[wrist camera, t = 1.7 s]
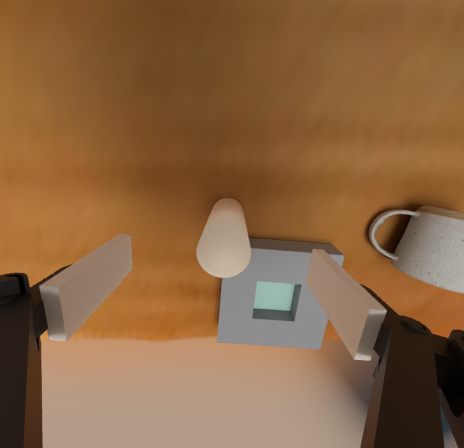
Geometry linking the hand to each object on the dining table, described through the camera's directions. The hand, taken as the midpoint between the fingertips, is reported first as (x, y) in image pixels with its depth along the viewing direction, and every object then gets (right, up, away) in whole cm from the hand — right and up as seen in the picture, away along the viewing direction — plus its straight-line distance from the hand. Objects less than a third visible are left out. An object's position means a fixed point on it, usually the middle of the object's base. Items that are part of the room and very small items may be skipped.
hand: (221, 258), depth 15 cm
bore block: (+6, -6, +15) cm, 17 cm away
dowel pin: (0, +4, +12) cm, 12 cm away
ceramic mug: (+24, +1, +13) cm, 27 cm away
